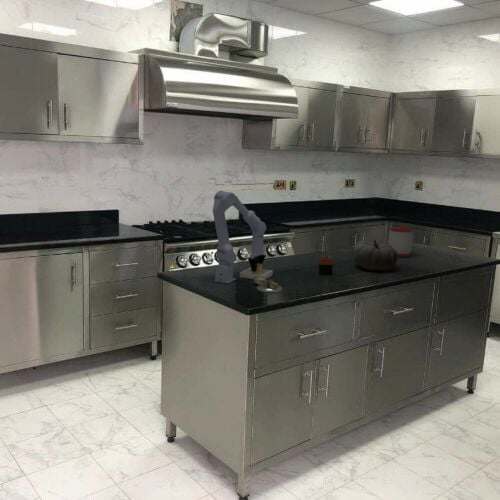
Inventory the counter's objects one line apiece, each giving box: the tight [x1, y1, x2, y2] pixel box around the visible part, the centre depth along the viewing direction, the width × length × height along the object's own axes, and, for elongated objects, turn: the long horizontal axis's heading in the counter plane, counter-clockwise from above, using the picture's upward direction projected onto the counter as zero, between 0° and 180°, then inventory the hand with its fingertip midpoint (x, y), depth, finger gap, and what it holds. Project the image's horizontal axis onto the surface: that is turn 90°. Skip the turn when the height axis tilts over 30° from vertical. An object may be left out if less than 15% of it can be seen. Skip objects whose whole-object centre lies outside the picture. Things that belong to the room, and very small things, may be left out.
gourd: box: [352, 239, 399, 272], centre depth 308 cm, size 25×25×17 cm
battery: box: [318, 255, 334, 276], centre depth 290 cm, size 4×7×10 cm, turn 92°
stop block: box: [252, 263, 263, 275], centre depth 280 cm, size 4×4×6 cm
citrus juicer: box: [387, 224, 416, 258], centre depth 348 cm, size 16×17×20 cm
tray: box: [239, 267, 274, 280], centre depth 280 cm, size 13×13×2 cm
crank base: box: [256, 284, 283, 293], centre depth 257 cm, size 12×12×1 cm
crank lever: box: [252, 277, 279, 289], centre depth 258 cm, size 16×3×3 cm, turn 42°
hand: (256, 269), depth 280 cm, fingers open, 7 cm apart
